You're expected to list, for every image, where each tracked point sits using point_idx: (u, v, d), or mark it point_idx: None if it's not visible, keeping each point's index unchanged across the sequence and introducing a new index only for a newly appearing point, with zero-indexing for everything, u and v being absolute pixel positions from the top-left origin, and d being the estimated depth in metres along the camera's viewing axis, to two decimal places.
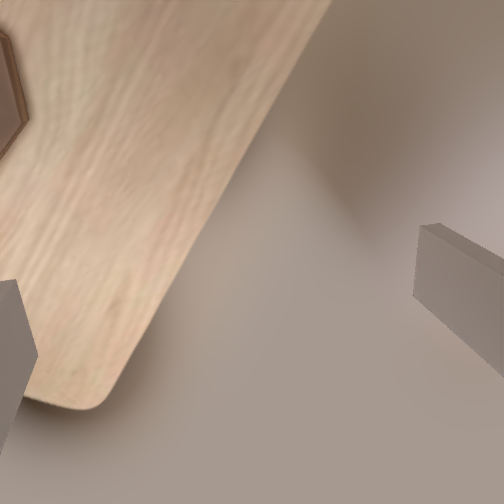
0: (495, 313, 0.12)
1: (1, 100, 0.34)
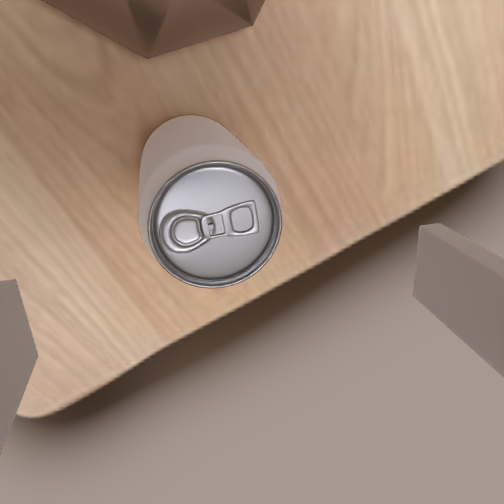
0: (495, 313, 0.12)
1: None
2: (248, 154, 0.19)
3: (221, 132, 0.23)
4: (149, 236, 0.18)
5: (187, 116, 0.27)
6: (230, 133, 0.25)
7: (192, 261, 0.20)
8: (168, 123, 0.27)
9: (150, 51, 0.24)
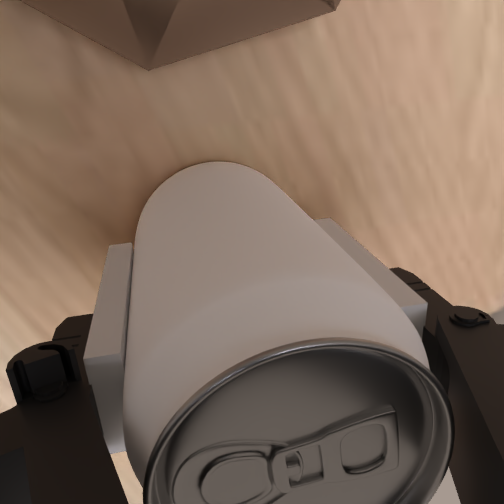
0: None
1: None
2: (375, 293, 0.08)
3: (289, 214, 0.12)
4: None
5: (213, 165, 0.16)
6: (293, 202, 0.14)
7: None
8: (182, 179, 0.16)
9: (153, 57, 0.13)
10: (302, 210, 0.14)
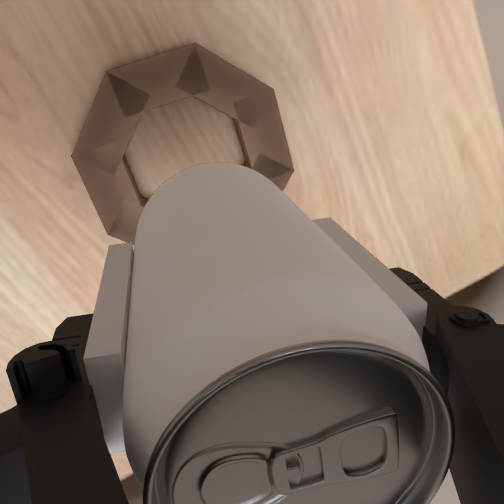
0: None
1: (245, 89, 0.31)
2: (375, 295, 0.08)
3: (289, 215, 0.12)
4: None
5: (213, 166, 0.16)
6: (293, 203, 0.14)
7: None
8: (182, 180, 0.16)
9: None
10: (302, 211, 0.14)
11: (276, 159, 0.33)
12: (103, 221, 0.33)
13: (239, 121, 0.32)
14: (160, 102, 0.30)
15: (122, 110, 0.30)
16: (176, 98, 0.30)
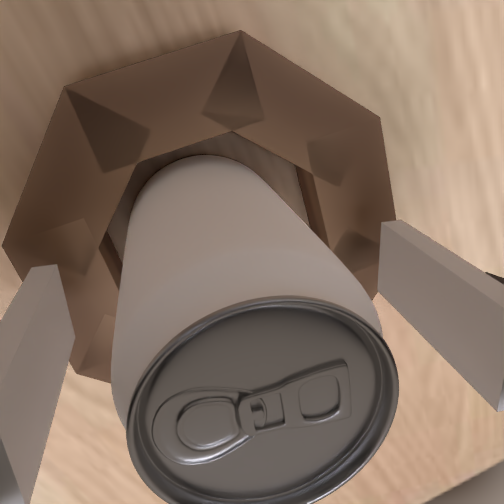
0: (444, 305, 0.13)
1: (329, 118, 0.17)
2: (331, 263, 0.10)
3: (264, 199, 0.13)
4: (130, 448, 0.09)
5: (201, 158, 0.18)
6: (272, 191, 0.15)
7: (218, 474, 0.10)
8: (171, 170, 0.17)
9: None
10: (280, 198, 0.15)
11: (374, 238, 0.19)
12: None
13: (315, 175, 0.17)
14: (171, 144, 0.16)
15: (98, 160, 0.16)
16: (201, 136, 0.16)
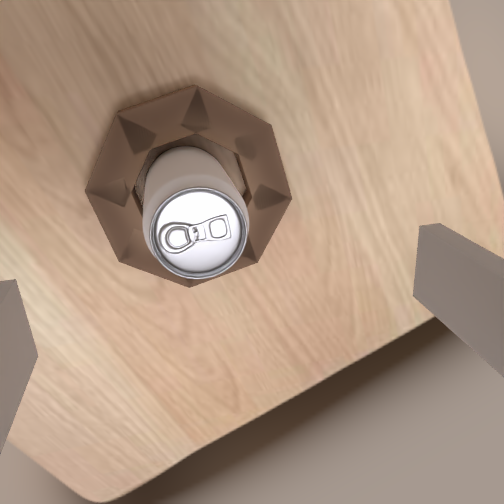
0: (495, 313, 0.12)
1: (245, 126, 0.34)
2: (222, 181, 0.27)
3: (205, 162, 0.30)
4: (150, 241, 0.25)
5: (182, 147, 0.35)
6: (214, 161, 0.32)
7: (182, 259, 0.27)
8: (167, 153, 0.34)
9: (191, 283, 0.37)
10: (217, 164, 0.32)
11: (275, 188, 0.36)
12: (114, 249, 0.35)
13: (239, 155, 0.34)
14: (166, 140, 0.33)
15: (131, 148, 0.33)
16: (181, 136, 0.33)
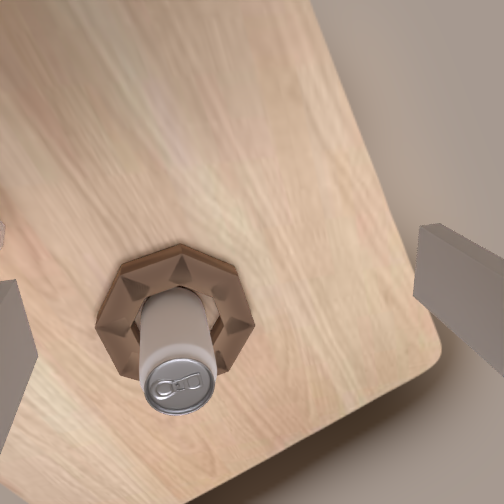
0: (495, 313, 0.12)
1: (218, 278, 0.44)
2: (197, 346, 0.37)
3: (186, 319, 0.40)
4: (145, 393, 0.36)
5: (170, 290, 0.45)
6: (194, 309, 0.43)
7: (167, 402, 0.37)
8: (158, 297, 0.44)
9: None
10: (196, 313, 0.42)
11: (242, 319, 0.46)
12: (117, 367, 0.45)
13: (214, 298, 0.45)
14: (158, 290, 0.43)
15: (131, 297, 0.43)
16: (169, 287, 0.43)
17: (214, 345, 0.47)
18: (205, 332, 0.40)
